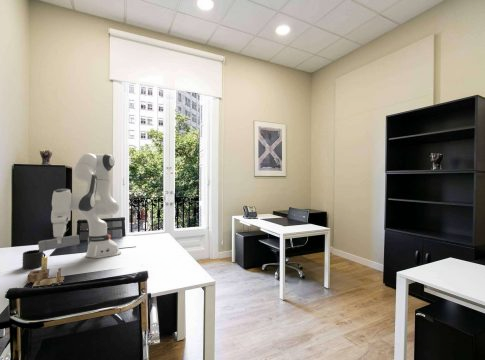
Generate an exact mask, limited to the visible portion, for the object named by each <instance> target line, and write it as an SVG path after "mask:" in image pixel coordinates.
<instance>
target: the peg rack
mask: <svg viewBox="0 0 485 360" xmlns="http://www.w3.org/2000/svg"><path fill="white" fill-rule="evenodd" d="M39 270H40V271H39V274H37V280H36V281H35V282H33V284H32V287H33V286H40V285H50V284H52V283H59V282H63V283H64V281H65V276H62V267H59V268H58V269H57V271H56V277H51V278H50V277H48V279H42V270H41V269H39ZM63 280H64V281H63Z"/></svg>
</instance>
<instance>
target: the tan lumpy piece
mask: <svg viewBox="0 0 485 360" xmlns="http://www.w3.org/2000/svg"><path fill="white" fill-rule="evenodd" d="M40 270H41V269H35V270H34V269H33V270H30V271H29V272H28V274H27V281H26V282H27V284H31V283H30V282H32V283H35V281H36V280H37V274H39V271H40ZM49 278H50V268H47V269H42V279H49Z"/></svg>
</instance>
